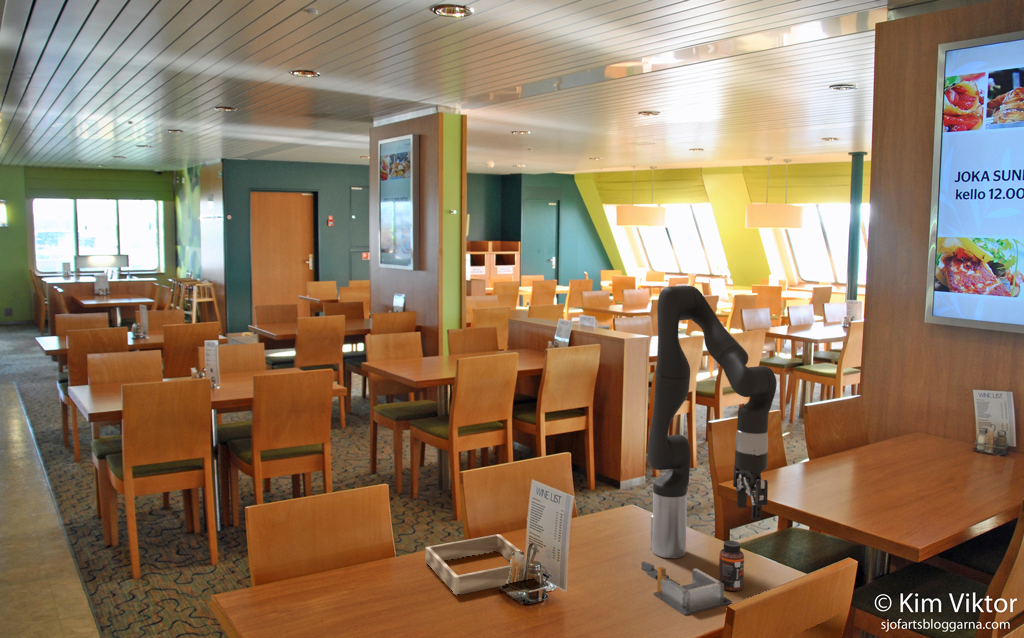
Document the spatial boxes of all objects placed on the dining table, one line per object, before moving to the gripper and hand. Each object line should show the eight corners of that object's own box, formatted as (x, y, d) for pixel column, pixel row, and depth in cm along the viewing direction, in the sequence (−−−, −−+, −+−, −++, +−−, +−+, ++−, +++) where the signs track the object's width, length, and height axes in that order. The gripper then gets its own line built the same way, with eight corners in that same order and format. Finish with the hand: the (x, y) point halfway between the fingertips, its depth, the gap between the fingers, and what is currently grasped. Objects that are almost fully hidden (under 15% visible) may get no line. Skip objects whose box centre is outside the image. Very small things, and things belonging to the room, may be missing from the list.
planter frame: (425, 563, 206) (425, 547, 205) (499, 549, 215) (499, 534, 215) (455, 595, 186) (455, 577, 186) (534, 578, 195) (534, 561, 195)
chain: (639, 568, 202) (639, 562, 201) (646, 567, 203) (646, 560, 202) (672, 589, 189) (672, 582, 189) (679, 587, 190) (679, 581, 190)
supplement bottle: (744, 593, 187) (745, 548, 186) (719, 591, 188) (720, 546, 187) (742, 582, 193) (743, 539, 192) (718, 581, 194) (718, 537, 193)
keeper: (653, 594, 186) (653, 568, 186) (698, 583, 192) (698, 558, 192) (684, 615, 175) (685, 588, 175) (731, 603, 181) (732, 576, 181)
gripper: (724, 441, 189) (722, 503, 191) (749, 457, 175) (746, 525, 177) (753, 440, 190) (751, 502, 192) (779, 456, 176) (776, 524, 178)
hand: (748, 513), depth 184 cm, fingers open, 8 cm apart
